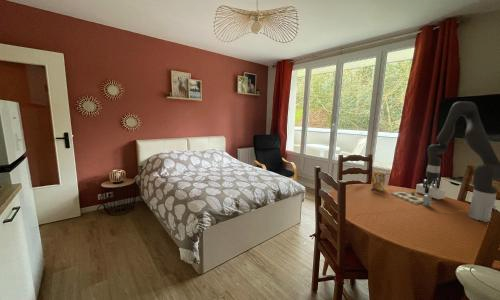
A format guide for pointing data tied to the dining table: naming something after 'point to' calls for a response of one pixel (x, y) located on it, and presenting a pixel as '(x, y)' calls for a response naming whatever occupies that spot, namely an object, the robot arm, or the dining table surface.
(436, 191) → the grey housing
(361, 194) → the dining table surface
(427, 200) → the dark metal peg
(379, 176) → the candy box
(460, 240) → the dining table surface
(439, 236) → the dining table surface
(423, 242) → the dining table surface
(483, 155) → the robot arm
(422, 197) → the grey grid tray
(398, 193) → the cream peg board
